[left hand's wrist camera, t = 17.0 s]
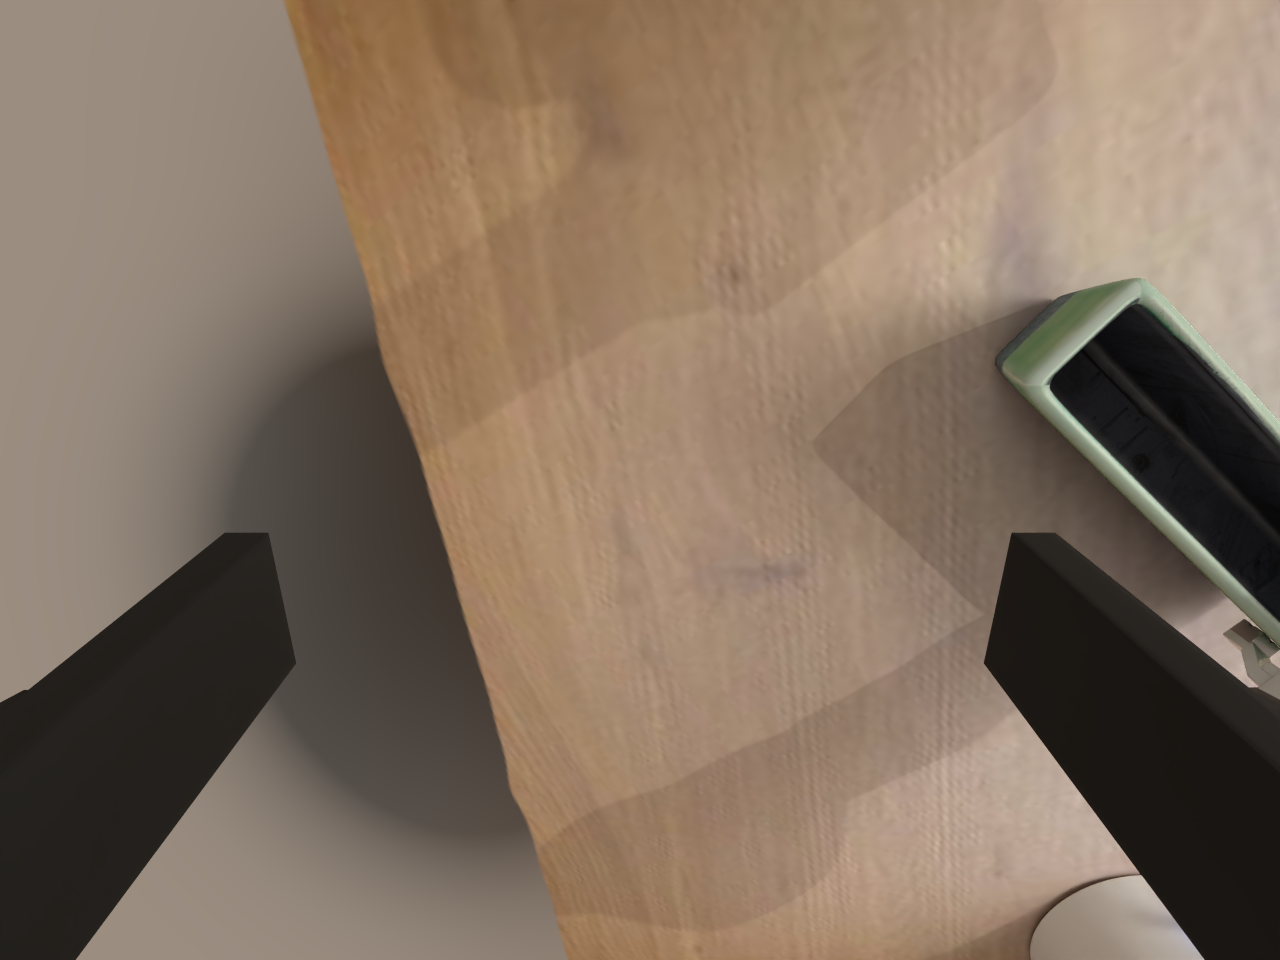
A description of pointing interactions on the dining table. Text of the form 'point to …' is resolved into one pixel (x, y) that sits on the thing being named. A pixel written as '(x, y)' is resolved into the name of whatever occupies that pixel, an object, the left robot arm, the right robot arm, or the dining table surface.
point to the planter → (1163, 429)
